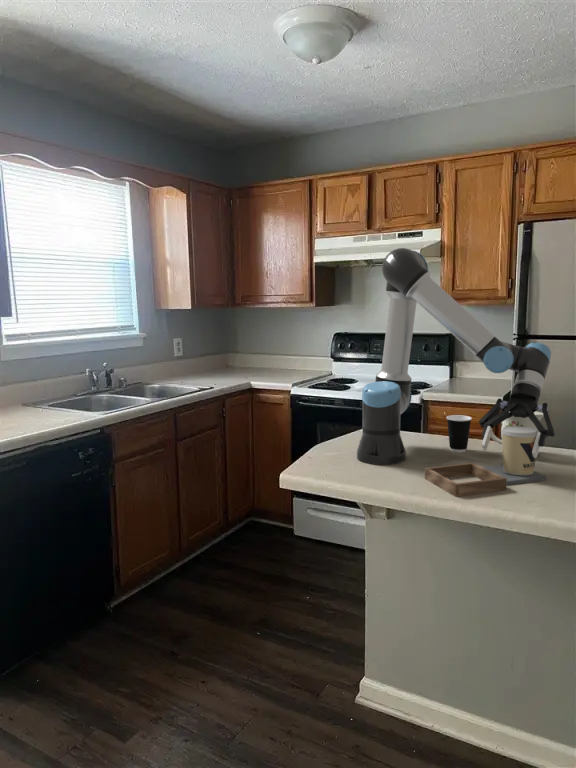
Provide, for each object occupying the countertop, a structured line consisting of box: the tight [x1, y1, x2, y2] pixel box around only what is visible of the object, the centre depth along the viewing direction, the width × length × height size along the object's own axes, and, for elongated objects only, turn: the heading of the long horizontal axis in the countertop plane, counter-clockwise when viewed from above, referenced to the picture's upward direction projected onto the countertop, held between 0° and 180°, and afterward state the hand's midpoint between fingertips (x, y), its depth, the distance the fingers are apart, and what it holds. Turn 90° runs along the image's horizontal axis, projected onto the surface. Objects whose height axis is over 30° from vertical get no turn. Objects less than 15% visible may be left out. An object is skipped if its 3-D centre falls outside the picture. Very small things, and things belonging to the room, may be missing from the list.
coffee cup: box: [501, 426, 537, 476], centre depth 154 cm, size 9×9×12 cm
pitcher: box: [490, 411, 544, 445], centre depth 176 cm, size 11×18×14 cm, turn 50°
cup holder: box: [424, 462, 507, 498], centre depth 149 cm, size 15×15×3 cm
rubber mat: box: [482, 464, 547, 486], centre depth 155 cm, size 13×13×1 cm
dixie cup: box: [445, 414, 473, 454], centre depth 180 cm, size 8×8×11 cm
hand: (508, 451), depth 152 cm, fingers open, 13 cm apart
